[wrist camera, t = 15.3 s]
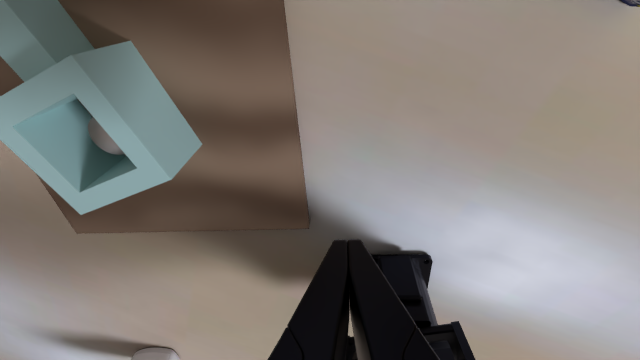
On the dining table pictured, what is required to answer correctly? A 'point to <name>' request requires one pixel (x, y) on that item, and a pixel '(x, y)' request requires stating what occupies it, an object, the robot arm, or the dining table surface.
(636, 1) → the supplement box
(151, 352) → the eye dropper bottle
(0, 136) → the collar
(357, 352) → the robot arm
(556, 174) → the dining table surface
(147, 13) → the board
